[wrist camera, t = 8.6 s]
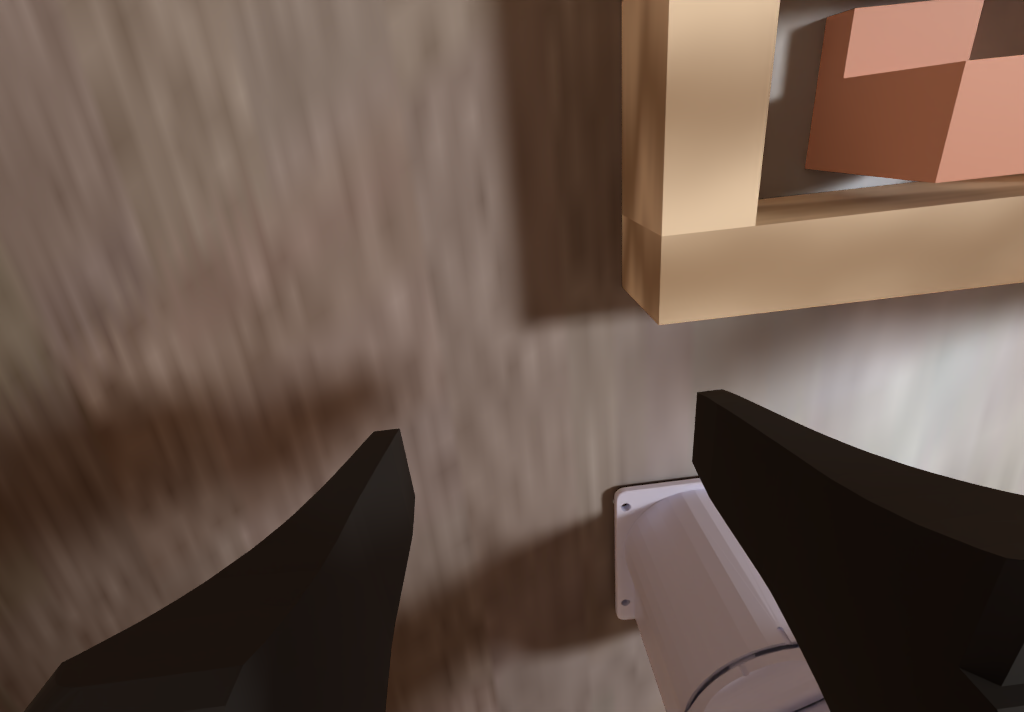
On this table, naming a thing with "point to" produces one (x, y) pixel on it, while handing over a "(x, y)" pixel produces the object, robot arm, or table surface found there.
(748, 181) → the wooden tray frame
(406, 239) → the table surface
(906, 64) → the terracotta step block
